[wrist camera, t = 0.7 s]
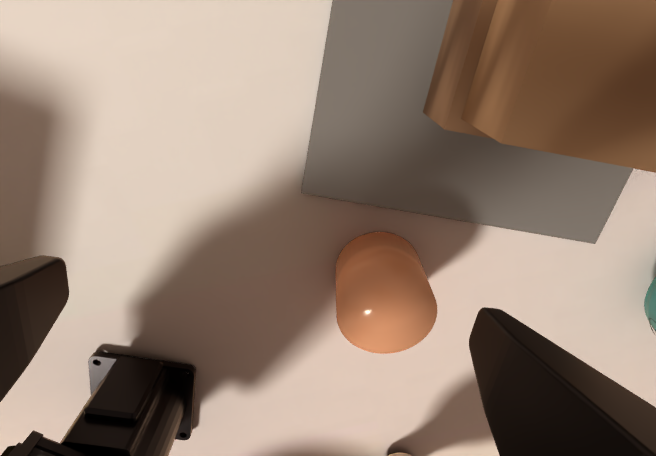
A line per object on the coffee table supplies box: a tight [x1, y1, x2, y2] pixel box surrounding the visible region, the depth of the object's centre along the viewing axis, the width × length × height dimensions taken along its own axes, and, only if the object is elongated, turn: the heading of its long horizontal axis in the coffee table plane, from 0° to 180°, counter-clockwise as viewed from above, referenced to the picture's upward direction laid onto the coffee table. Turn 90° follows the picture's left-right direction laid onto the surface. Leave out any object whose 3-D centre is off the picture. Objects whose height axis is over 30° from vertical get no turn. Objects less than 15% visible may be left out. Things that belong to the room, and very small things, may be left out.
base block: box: [423, 0, 498, 139], centre depth 17 cm, size 6×6×4 cm
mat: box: [301, 0, 633, 244], centre depth 19 cm, size 16×16×1 cm
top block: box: [461, 0, 656, 172], centre depth 13 cm, size 5×5×4 cm
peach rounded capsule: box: [336, 232, 437, 353], centre depth 22 cm, size 5×5×4 cm
